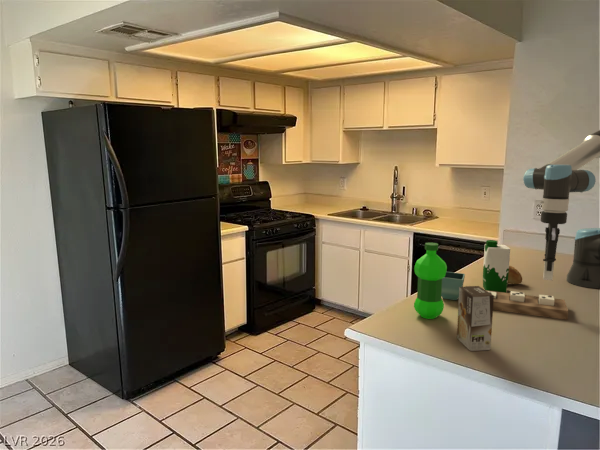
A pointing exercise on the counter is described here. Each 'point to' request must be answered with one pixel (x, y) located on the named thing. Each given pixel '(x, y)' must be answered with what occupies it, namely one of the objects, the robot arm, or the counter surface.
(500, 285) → the milk carton
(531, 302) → the button panel
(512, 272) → the bread roll
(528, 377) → the counter surface
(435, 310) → the plastic bottle
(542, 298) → the button two
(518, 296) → the button three
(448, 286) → the flower pot
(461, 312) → the coffee box
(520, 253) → the counter surface
